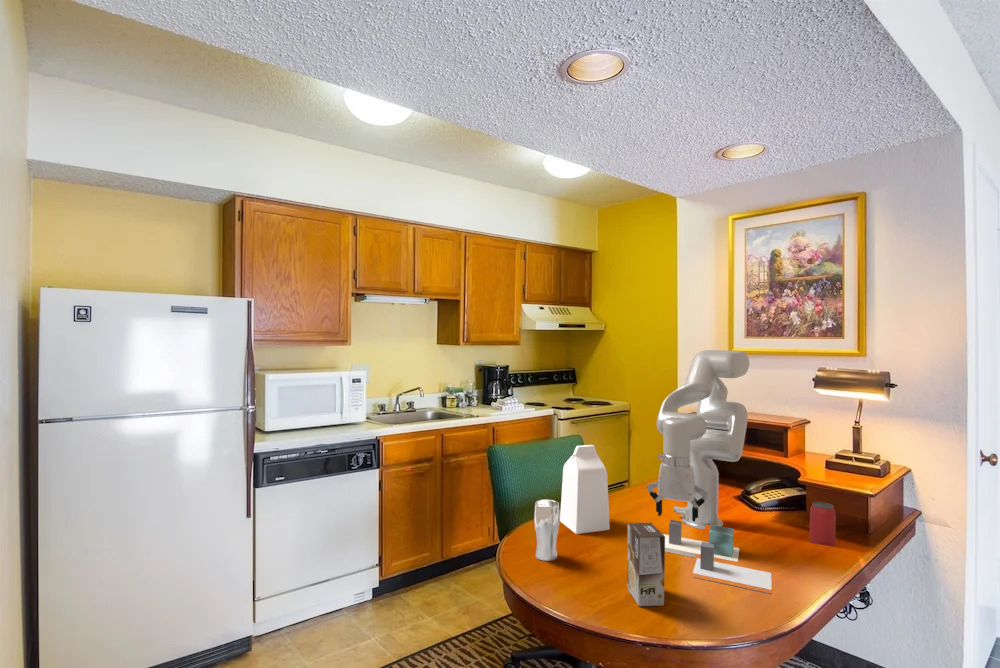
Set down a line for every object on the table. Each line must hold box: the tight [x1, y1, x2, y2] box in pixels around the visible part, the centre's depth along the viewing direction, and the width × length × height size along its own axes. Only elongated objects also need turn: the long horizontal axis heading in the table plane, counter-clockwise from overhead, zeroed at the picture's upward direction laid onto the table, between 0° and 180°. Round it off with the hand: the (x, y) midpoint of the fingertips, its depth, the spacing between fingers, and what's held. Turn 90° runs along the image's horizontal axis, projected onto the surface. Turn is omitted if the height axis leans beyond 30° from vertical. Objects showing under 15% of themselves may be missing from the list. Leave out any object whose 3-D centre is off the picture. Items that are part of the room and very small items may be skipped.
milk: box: [559, 444, 611, 535], centre depth 169 cm, size 12×12×26 cm
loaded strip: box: [662, 519, 740, 563], centre depth 149 cm, size 22×10×7 cm, turn 63°
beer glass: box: [533, 498, 560, 562], centre depth 145 cm, size 7×7×15 cm
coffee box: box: [626, 522, 666, 607], centre depth 123 cm, size 9×6×16 cm
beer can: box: [809, 501, 837, 548], centre depth 156 cm, size 7×7×12 cm
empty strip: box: [692, 541, 773, 595], centre depth 133 cm, size 18×10×7 cm, turn 63°
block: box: [708, 525, 735, 558], centre depth 146 cm, size 6×6×6 cm
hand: (676, 517), depth 153 cm, fingers open, 9 cm apart
